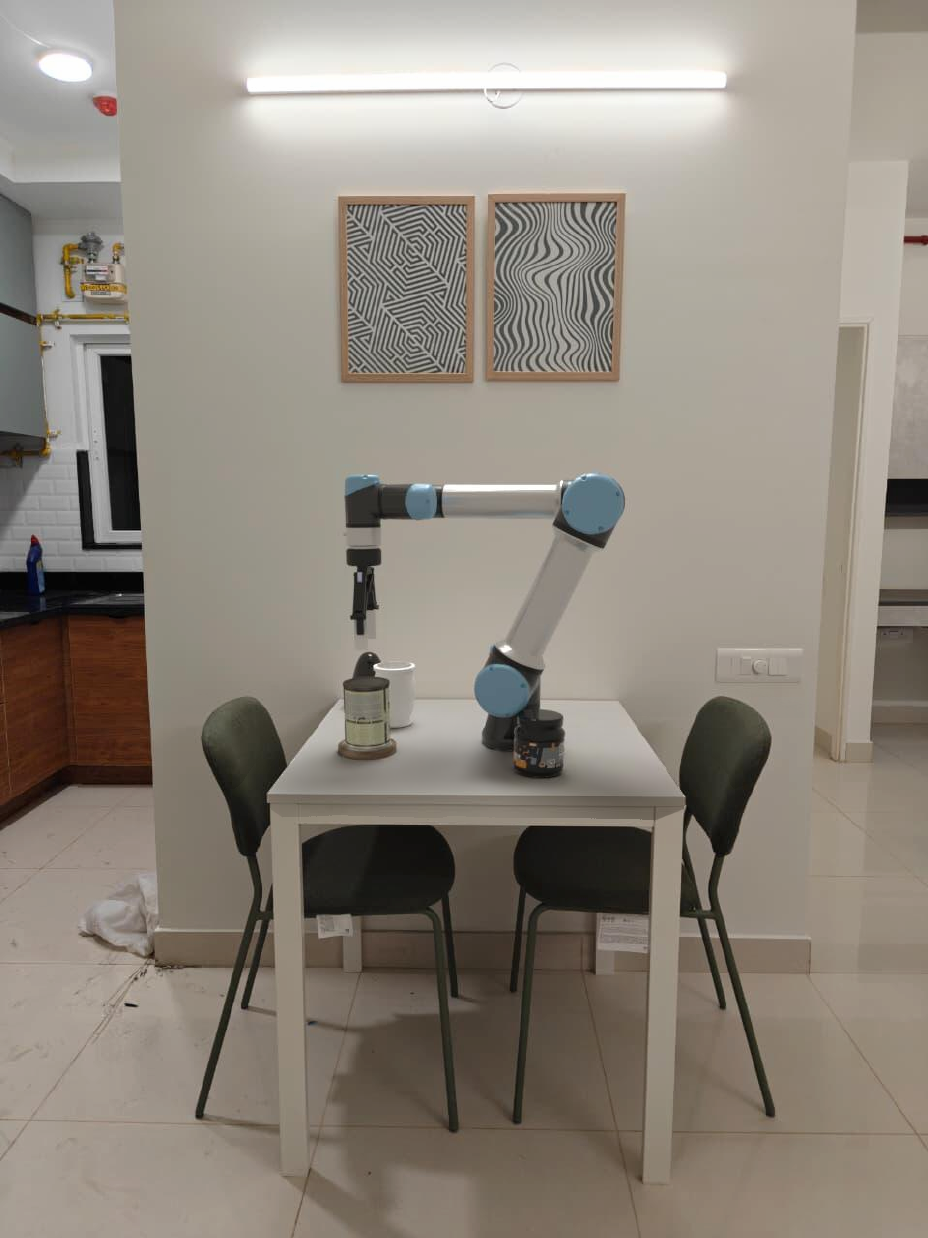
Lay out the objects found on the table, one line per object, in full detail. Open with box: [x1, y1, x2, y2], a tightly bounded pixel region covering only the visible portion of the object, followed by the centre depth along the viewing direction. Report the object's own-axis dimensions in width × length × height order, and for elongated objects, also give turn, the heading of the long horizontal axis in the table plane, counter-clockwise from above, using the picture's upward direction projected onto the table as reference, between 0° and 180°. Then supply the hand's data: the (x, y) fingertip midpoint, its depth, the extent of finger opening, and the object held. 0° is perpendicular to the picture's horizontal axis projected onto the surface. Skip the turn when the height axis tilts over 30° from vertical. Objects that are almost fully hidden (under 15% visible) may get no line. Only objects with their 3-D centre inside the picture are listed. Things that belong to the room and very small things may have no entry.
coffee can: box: [342, 677, 391, 750], centre depth 182 cm, size 10×10×14 cm
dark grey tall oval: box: [351, 651, 382, 678], centre depth 220 cm, size 10×10×15 cm
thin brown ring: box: [337, 737, 398, 761], centre depth 183 cm, size 13×13×2 cm
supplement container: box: [512, 708, 566, 779], centre depth 169 cm, size 10×10×12 cm
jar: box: [374, 660, 416, 729], centre depth 203 cm, size 11×10×15 cm
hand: (365, 644), depth 180 cm, fingers open, 13 cm apart
